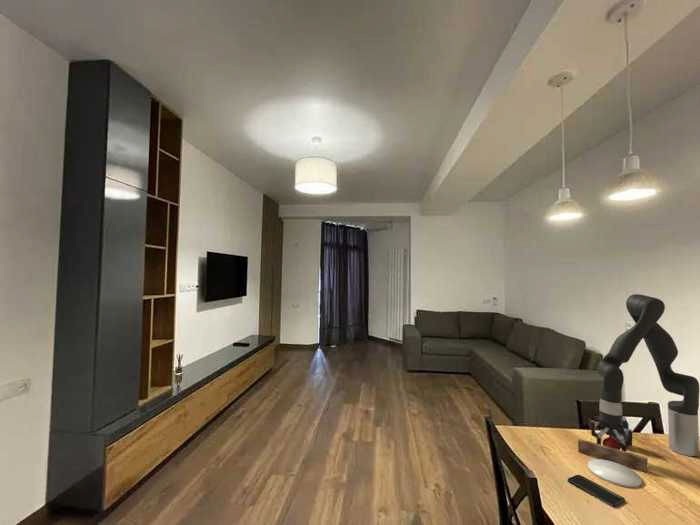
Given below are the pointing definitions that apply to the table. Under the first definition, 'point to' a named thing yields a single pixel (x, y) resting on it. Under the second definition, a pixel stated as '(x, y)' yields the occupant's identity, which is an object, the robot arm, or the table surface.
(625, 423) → the soda can
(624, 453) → the wooden plank
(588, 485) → the phone
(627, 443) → the robot arm
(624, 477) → the plate
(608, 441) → the onion
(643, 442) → the table surface
